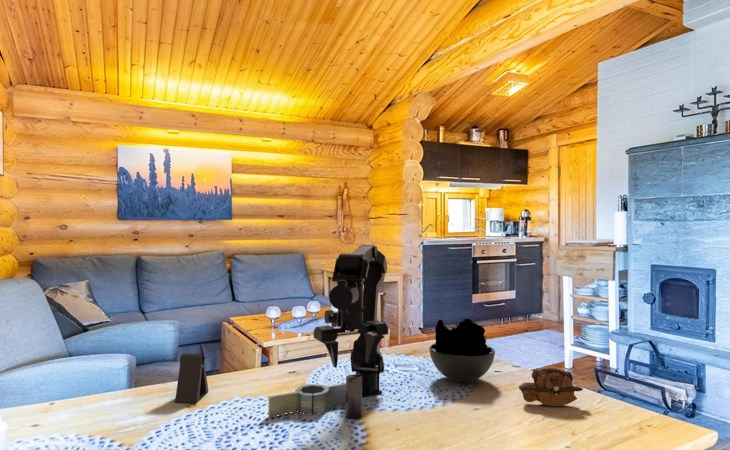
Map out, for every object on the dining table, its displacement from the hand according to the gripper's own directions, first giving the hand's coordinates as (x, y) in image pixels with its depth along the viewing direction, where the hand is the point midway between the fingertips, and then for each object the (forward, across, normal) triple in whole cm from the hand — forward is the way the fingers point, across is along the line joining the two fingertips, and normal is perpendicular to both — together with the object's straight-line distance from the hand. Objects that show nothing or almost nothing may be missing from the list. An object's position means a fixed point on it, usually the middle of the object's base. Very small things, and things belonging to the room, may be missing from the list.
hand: (351, 364), depth 123 cm
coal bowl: (+13, -43, -9) cm, 46 cm away
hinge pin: (+13, 0, 0) cm, 13 cm away
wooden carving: (+13, -51, +19) cm, 56 cm away
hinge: (+13, +7, -9) cm, 17 cm away
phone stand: (+13, +33, -33) cm, 49 cm away
